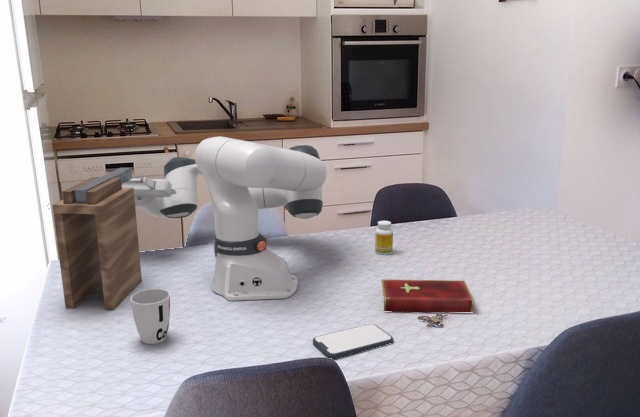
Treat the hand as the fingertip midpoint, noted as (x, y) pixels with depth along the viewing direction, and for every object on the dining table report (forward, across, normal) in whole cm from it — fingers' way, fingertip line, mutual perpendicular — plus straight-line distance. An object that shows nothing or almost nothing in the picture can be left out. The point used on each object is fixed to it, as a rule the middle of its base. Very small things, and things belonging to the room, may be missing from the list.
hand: (125, 179), depth 164 cm
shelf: (+4, 0, -32) cm, 32 cm away
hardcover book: (+2, -81, -32) cm, 87 cm away
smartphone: (+21, -64, -43) cm, 80 cm away
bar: (+12, 0, -6) cm, 13 cm away
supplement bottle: (-29, -72, -13) cm, 78 cm away
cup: (+23, -21, -43) cm, 53 cm away
